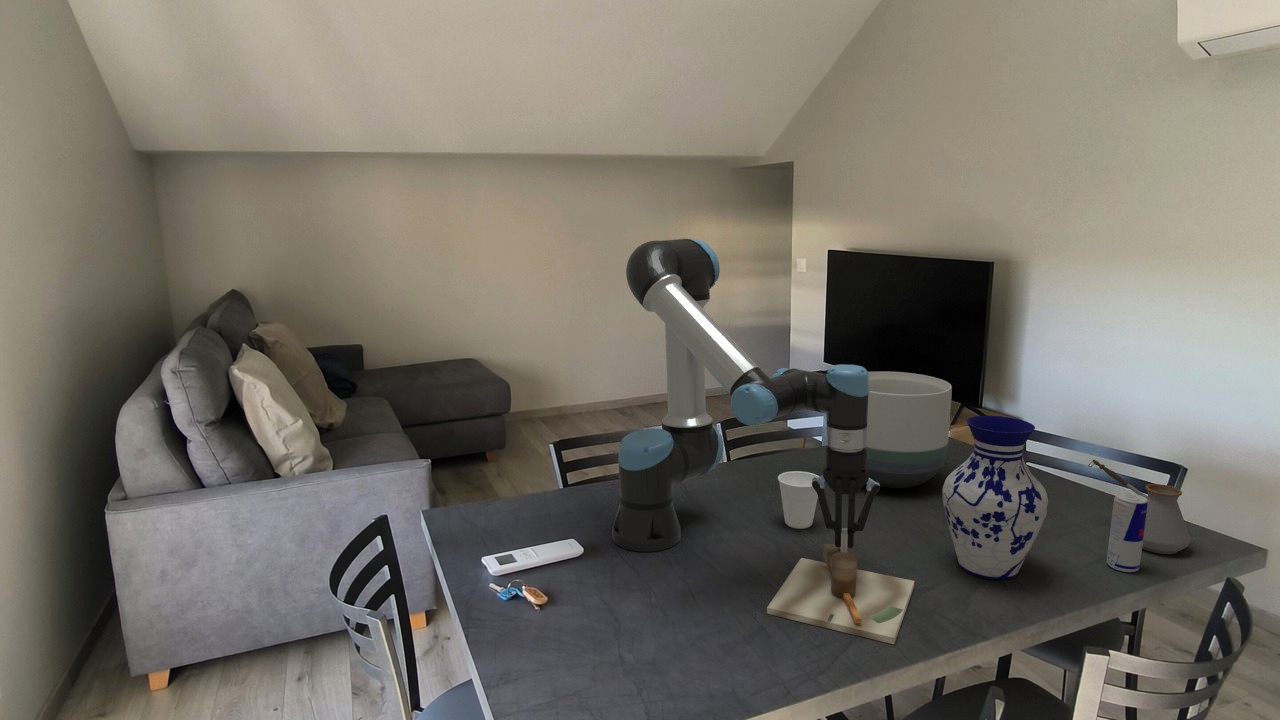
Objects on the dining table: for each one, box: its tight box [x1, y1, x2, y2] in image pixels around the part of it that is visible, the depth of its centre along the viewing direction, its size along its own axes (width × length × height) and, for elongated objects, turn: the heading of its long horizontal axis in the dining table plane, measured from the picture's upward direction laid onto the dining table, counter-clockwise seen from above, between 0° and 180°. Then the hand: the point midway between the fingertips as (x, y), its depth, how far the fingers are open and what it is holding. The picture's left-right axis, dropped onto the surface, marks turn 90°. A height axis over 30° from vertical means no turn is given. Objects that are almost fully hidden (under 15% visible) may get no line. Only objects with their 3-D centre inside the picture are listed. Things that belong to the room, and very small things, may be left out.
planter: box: [865, 371, 953, 489], centre depth 198 cm, size 27×27×27 cm
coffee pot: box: [1088, 459, 1192, 555], centre depth 165 cm, size 21×12×15 cm, turn 29°
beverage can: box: [1106, 491, 1148, 573], centre depth 152 cm, size 6×6×15 cm
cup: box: [777, 470, 820, 530], centre depth 174 cm, size 10×10×11 cm
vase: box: [942, 415, 1049, 581], centre depth 151 cm, size 19×19×30 cm
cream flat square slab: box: [766, 557, 915, 645], centre depth 141 cm, size 22×22×1 cm
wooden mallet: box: [822, 543, 862, 623], centre depth 141 cm, size 22×4×7 cm, turn 179°
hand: (843, 562), depth 149 cm, fingers closed
